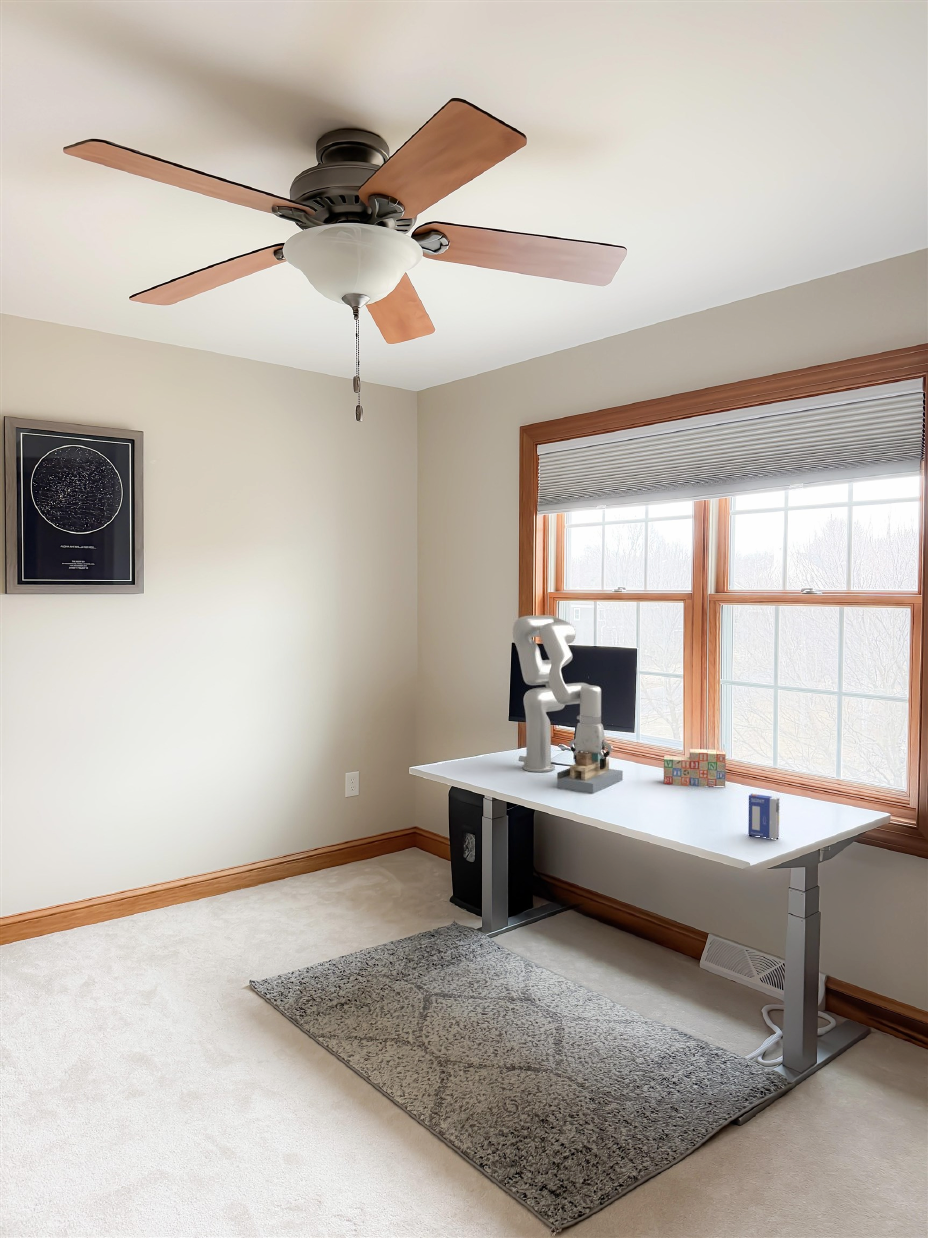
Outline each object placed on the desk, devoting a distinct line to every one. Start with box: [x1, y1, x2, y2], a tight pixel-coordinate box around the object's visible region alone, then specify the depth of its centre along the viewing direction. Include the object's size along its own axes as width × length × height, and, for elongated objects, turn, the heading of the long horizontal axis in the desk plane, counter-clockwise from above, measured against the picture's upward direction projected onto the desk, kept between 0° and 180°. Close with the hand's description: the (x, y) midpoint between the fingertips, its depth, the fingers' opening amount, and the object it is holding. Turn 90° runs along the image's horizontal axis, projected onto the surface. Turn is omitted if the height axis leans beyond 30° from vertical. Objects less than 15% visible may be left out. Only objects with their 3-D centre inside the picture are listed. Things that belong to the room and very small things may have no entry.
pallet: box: [569, 757, 610, 781], centre depth 300 cm, size 6×19×4 cm, turn 145°
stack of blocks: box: [663, 748, 727, 787], centre depth 299 cm, size 21×6×12 cm, turn 75°
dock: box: [556, 767, 624, 795], centre depth 300 cm, size 14×24×6 cm, turn 145°
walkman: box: [747, 793, 780, 839], centre depth 236 cm, size 8×3×12 cm, turn 55°
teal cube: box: [587, 752, 601, 762], centre depth 303 cm, size 4×4×4 cm
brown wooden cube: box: [575, 751, 592, 766], centre depth 296 cm, size 4×4×4 cm
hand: (590, 767), depth 300 cm, fingers open, 9 cm apart
